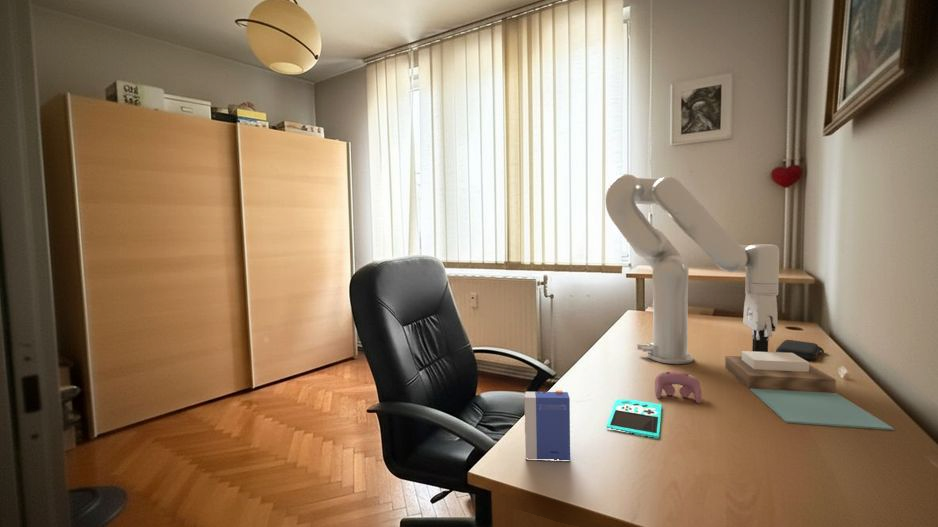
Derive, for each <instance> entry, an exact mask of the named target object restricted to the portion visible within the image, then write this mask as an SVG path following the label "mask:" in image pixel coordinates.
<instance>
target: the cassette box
mask: <svg viewBox="0 0 938 527" xmlns="http://www.w3.org/2000/svg"><path fill="white" fill-rule="evenodd" d="M741 356H742V360H743V361H744V362H745V363H747V364H748V365H749V366H751V367H752V368H753V369H759V370H782V371H804V372H809V365H810V361H806V360H804V359H802V358H801V357H799V356H797V355H795V354H793V353H782V352H776V351H768V352H754V351H751V350H750V351H748V350H742V351H741Z"/></svg>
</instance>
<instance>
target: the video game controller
mask: <svg viewBox="0 0 938 527" xmlns="http://www.w3.org/2000/svg"><path fill="white" fill-rule="evenodd" d="M674 385H679V386H681V387H680V388H679V394H680V396H681V397H682V398H685V399H686V398H689V397H690V395H691V394H693V396H694V400H695V402H696V404H698V405H699V404H700V403H701V402H702V388H701V384H700V381H699V379H697V377H695V376H694V375H693V374H692V375H691V374H689V373H685V372H681V371H663V372H661V373H659V374H658V375H657V376H656V377H655V380H654V393H655V397H656V399H658V398H659V399H661V397H662V394H663V390H664V392H665V394H666V395H667V396H670V395H672V396H674V395H675V394H676V389H675V386H674Z"/></svg>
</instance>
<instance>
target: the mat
mask: <svg viewBox="0 0 938 527" xmlns="http://www.w3.org/2000/svg"><path fill="white" fill-rule="evenodd" d="M749 390H750V391H751V393H752V394H753V395H754V396H756V397H757V398H758V399H759V400H760V401H761V402H763V404H765V405H766V406H767V407H768V408H770V410H771V411H773V412H774V413H775V414H776V415H777V416H778V417H780V419H781V420H782V421H784V422H785V423H787V424H798V425H799V424H800V425H814V426H815V425H816V426H826V427H827V426H828V427H829V426H830V427H840V428H841V427H842V428H857V429H858V428H859V429H869V428H870V430H872V429H873V430H883V431H885V430H886V431H894V430H895V429H894V427H892V426H890V425H889V424H888V423H886V422H885V421H882V420H881V419H879V418H877V417H876V415H875V416H874V415H873V414H872V413H870V412H868V411H866V410H865V409H863V408H862V407H860V406H859V405H857V404H855V403H853V402H852V401H850V400H849V399H847V398H845V397H844V396H842V395H840V394H839V393H837V392H835V393H825V392H807V391H789V390H770V389H752V388H750V389H749Z"/></svg>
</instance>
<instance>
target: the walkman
mask: <svg viewBox="0 0 938 527" xmlns="http://www.w3.org/2000/svg"><path fill="white" fill-rule="evenodd" d="M570 403H571V400H570V395H569V392H568V391H563V390H558V389H557V390H555V391H525V394H524V396H523V409H524V410H523V414H524V436H525V437H524V438H525V441H524V442H525V459H526V458H528V459H554V460H557V459H559V460H570V461H571V418H570V417H571V416H570V415H571V412H570V411H571V410H570V407H571V406H570V405H571V404H570Z"/></svg>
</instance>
